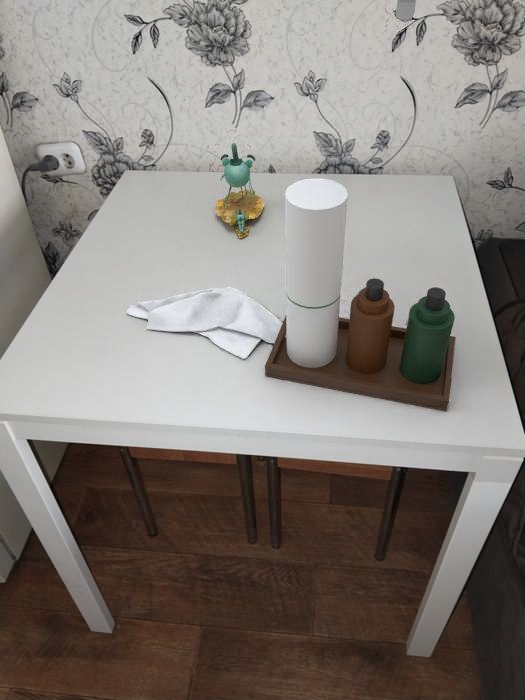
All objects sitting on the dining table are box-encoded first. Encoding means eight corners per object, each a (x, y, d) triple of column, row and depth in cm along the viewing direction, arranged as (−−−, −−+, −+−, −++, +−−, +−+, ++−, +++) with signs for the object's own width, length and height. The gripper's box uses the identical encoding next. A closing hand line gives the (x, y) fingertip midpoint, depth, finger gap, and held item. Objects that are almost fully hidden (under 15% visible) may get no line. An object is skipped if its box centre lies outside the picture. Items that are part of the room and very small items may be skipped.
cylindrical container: (336, 334, 87) (347, 178, 70) (336, 368, 82) (347, 210, 65) (288, 332, 88) (287, 177, 70) (284, 366, 83) (283, 209, 65)
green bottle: (442, 359, 83) (461, 282, 73) (439, 387, 79) (458, 310, 69) (402, 352, 84) (415, 275, 75) (396, 379, 80) (410, 303, 71)
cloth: (308, 311, 91) (308, 300, 90) (268, 370, 83) (268, 359, 81) (167, 270, 100) (165, 260, 99) (118, 320, 92) (115, 309, 90)
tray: (453, 346, 85) (455, 336, 84) (446, 411, 77) (449, 401, 75) (288, 318, 91) (288, 308, 89) (265, 376, 82) (264, 366, 81)
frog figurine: (202, 238, 108) (194, 158, 99) (225, 198, 122) (220, 124, 113) (253, 241, 106) (250, 160, 97) (271, 200, 120) (269, 126, 111)
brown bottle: (388, 349, 84) (400, 273, 75) (382, 377, 81) (394, 300, 71) (350, 342, 86) (357, 267, 76) (342, 369, 82) (348, 293, 73)
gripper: (457, -148, 48) (430, 36, 58) (470, -167, 62) (446, -17, 72) (380, -146, 50) (366, 32, 59) (409, -166, 64) (394, -19, 73)
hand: (410, 5), depth 66 cm, fingers open, 8 cm apart
